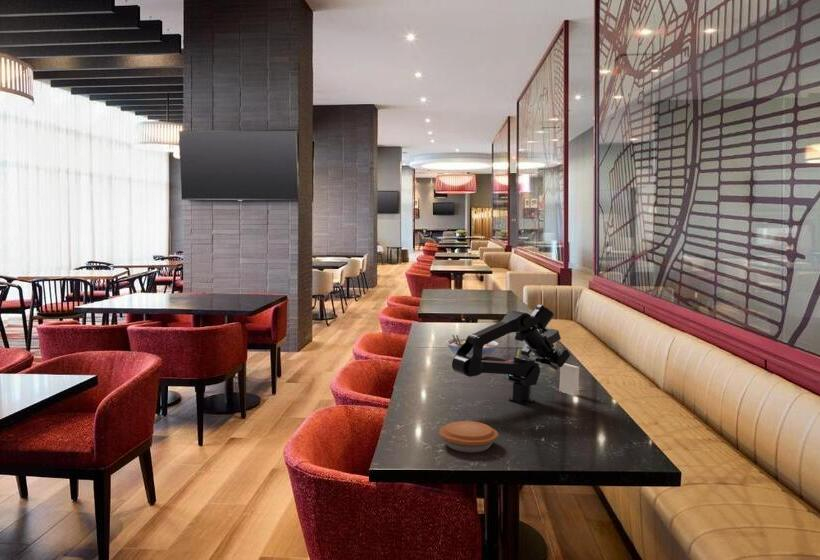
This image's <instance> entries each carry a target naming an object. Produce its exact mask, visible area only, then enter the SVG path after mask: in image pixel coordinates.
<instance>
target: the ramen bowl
mask: <svg viewBox="0 0 820 560" xmlns="http://www.w3.org/2000/svg"><path fill="white" fill-rule="evenodd" d="M455 336H456V337H455ZM466 339H467V337H459V334H456V335H454V334H452V338H450V339H447V340H446V341H445V342H446V345H447V346H448V348H449V350H450V351H451V352H452V353H453V354H454V355H456V353H457V351H458V349H459V348H460V347H461V346H462V345H463V344H464V343H465V341H466ZM498 345H499V342H497V341H495V340H494V341H492V342H490V343H487V344H485V345H484V347H483V349H482V359H484V358H486V357H490V356H491V355H492V354H493V353H494V352H495V350H496V349H497V348H498ZM466 356H467V357H471V358H472V356H473V348H472V349H471V350H470V352H469V353H468V354H467V355H466Z"/></svg>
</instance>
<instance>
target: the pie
mask: <svg viewBox="0 0 820 560" xmlns="http://www.w3.org/2000/svg"><path fill="white" fill-rule="evenodd" d="M438 433H439V436H440V437H442V439H443V441H444V442H445V444H446V446H447V447H448V448H450V449H451V450H453V451H457V452H462V453H470V454H471V453H472V454H473V453H481V452H485V451H487V450H488V449H490V447H491V446H492V445H493V443H494V442H495V440H496V439H497V438H498V437H499V432H498V431H497V430H496V429H495V428H493V427H491V426H490V425H488V424H486V423H481V422H477V421H471V420H470V421H469V420H460V421H453V422H450V423H447V424H444V425H443V426H441V427H440V429H439V430H438Z"/></svg>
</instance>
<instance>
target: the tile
mask: <svg viewBox="0 0 820 560" xmlns="http://www.w3.org/2000/svg"><path fill="white" fill-rule="evenodd" d="M579 379H580V367H579V366H577V365H572V364H570V363H566V362H565V363H564V365H563V366H562V367H560V370H559V387H558V388H559V389H558V391H559V392H560V391H561V393H564V394H566V393H567V395H570V396H573V397H577V395H578V396H579V384H580V383H579V382H580V380H579Z"/></svg>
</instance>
